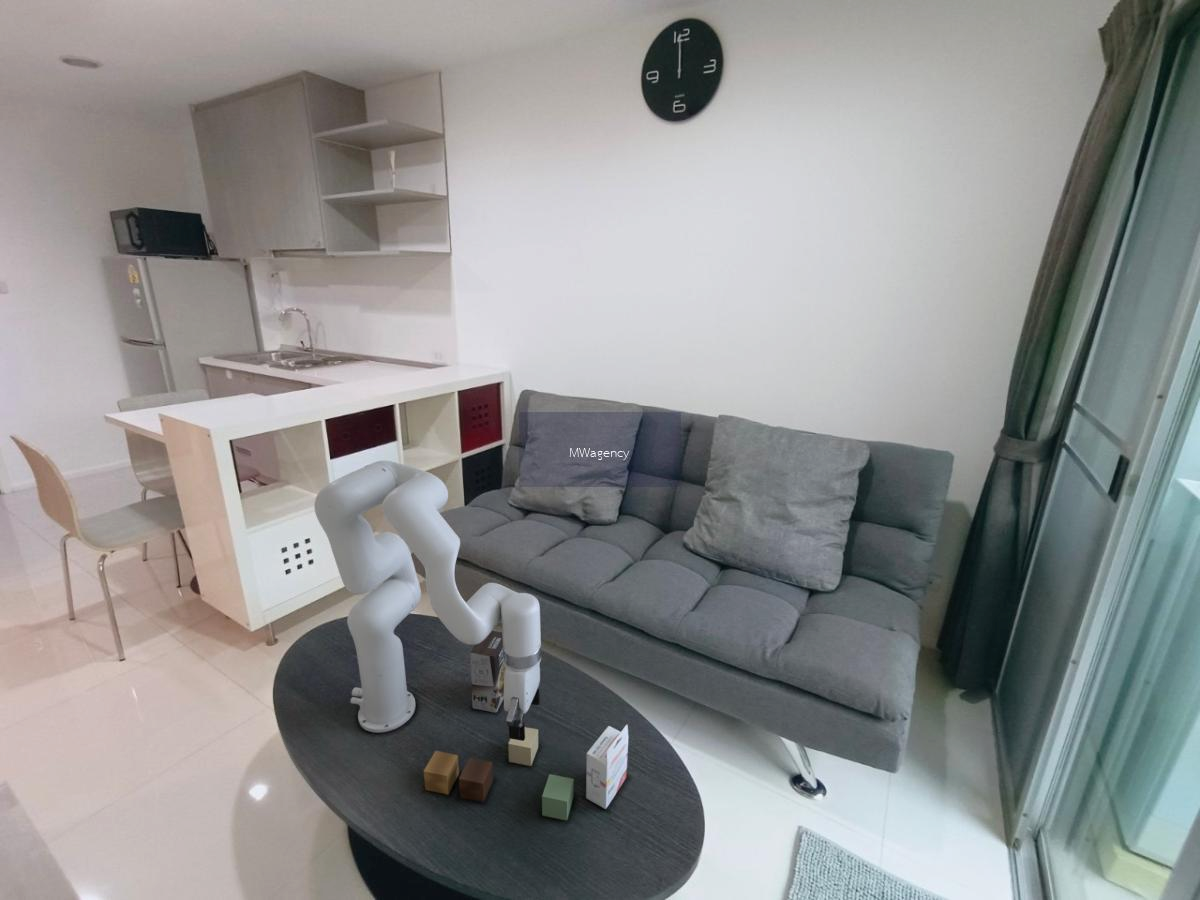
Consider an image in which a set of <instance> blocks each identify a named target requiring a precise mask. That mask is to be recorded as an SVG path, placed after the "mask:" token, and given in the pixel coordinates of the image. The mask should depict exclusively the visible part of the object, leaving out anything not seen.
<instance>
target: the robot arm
mask: <svg viewBox="0 0 1200 900" xmlns="http://www.w3.org/2000/svg"><path fill="white" fill-rule="evenodd" d="M448 499H449V489H448V488H447V486H446V484H445V483H444V482H443V481H442V479H441V478H439V477H438V476H436V475H434V474H433V473H431V472H429V471H426V470H423V469H420V468H416V467H413V466H409V465H406V464H403V463H400V462H395V461H391V460H378V461H374V462H372V463H370V464H367V465H365V466H363V467H360V468H359V469H356V470H353V471H352V472H349V473H347V474H345V475H343V476H341V477H339V478H337V479H335V480H333V481H331V482H330V483H327V484H326V485H325V486H324V487H323V488H322V489H321V490H319V491H318V493H317V494H316V497H315V499H314V512H315V517H316V519H317V521H318V523H319V525H320V527H321V528H322V530H323V532H324V533H325V535H326V537H327V539H328V542H329V545H330V550H331V552H332V556H333V559H334V561H335V564H336V567H337V570H338V573H339V576H340V579H341V581H342V584H343V586H344V588H345V589H346V590H347V591H348V592H349V593H350V594H353V595H356V596H357V595H363V597H361V598H360V599H359V600H358V601H357V602H356V603H354V605H352V607H351V609H350V610H349V612H348V615H347V618H346V623H347V627H348V630H349V633H350V635H351V637H352V640H353V643H354V647H355V652H356V659H357V664H358V670H359V671H358V672H359V679H360V686H361V687H356V686H355V687H354V688H353V689H352V691H351V696H352V697H351V698H350V704H353V705H358V706H359V710H358V712H357V719H358V723H359V725H360V727H361V728H362V729H363V730H365V731H366V732H367V731H368V732H371V733H377V734H379V733H380V734H381V733H386V732H390V731H393V730H396V729H398V728H400V727H402V726H403V725H404V724H405V723H407V722H409V720H410V719H411V718H412V716H413V715H414V713H415V711H416V699H415V697H414V695H413V693H412V692H410V691H408V687H407V676H406V668H405V657H404V648H403V643H402V640H401V639H400V637H399V636H397V635H396V634H395V629H396V627H397V626H398V625H400V623H402V621H404V619H406V617H407V616H409V615H410V614H411V613H412V612H413V611H414V610H415V609H416V608H417V607H418V605H419V604H420V602H421V599H422V590H421V589H422V588H421V585H420V581H419V578H418V575H417V571H416V567H415V563H414V560H413V557H412V554H411V552H412V553H413V554H414V555H415V557H416V558H417V559H418V560H419V562H420V563H421V564H422V566H423V568H424V571H425V572H424V573H425V585H426V590H427V594H428V598H429V602H430V605H431V608H432V610H433V612H434V614H435V615H436V617H437V618H438V619H439V620H440V622H441V623H442V624H443V626H444V627H445V628H446V629H447V630H448V632H449V633H450V634H451V635H452V636H453V637H454V638H455V639H456V640H458V641H459V642H461V643H463V644H465V645H469V646H475V644H478V643H481V642H482V641H483V640H484V639H485V638H486V637H487V636H488V635H489V634H490V633H491V632H492V631H494V629H495V628H496V627H497V626H498V625H499V624H501V632H502V636H503V654H504V664H505V666H506V669H505V677H504V699H503V709H504V712H507V715H506V720H505V722H506V724H507V727H508V736H509V740H510V739H515V740H521V741H524V740H525V727H526V725H525V724H526V723H524V718H525V714H526V713H527V712H528V711H529V709H530V707H531V705H533V706H539V705H540V702H541V699H540V697H541V696H540V695H541V694H540V684H541V683H540V681H541V666H540V663H541V662H542V639H541V638H542V637H541V636H542V635H541V634H542V633H541V608H540V607H541V606H540V601H539V600H538V598H537V597H536V596H535V595H533V594H532V593H531V594H530V593H527V592H517V591H515V590H513V589H511V588H508V587H506V586H504V585H502V584H500V583H497V582H488V583H485V584H483V585H482V586H481V587H479V588H478V589H477V591H476V592H475V593H473V595H472V596H471V597H469V599H468V600H466V601H465V599H464V598H463V596H462V595H461V594H460V592H459V590H458V587H457V583H456V579H455V578H456V577H455V568H456V562H457V558H458V554H459V551H460V547H461V539H460V537H459V536H458V535H457V533H456V532H455V531H454V530H453V528H452V527H451V526H450V525H449V523H448V522H447V521H446V519H445V518H444V517H443V516H442V514H441V513H440V512H439V510H440V509H442V508H443V507H444V506H445V505H446V504H447V502H448V501H449V500H448ZM380 505H381V510H382V511H381V512H382V513H383V516H384V518H385V519H386V521H388V523H389V524H390V525H391V527H392V528H393V529H394V530H395V531H396V533H397V534H396V533H394V532H391V531H385V532H380V533H378V534H375V535H374V532H373V531H374V530H373V528H372V526H371V525H370V523H369V521H368V520H367V519H366V518H365V517H363V516H362V515H363V514H366V513H367V512H368V511H370V510H372V509H374V508H376V507H378V506H380ZM410 550H411V551H410ZM516 714H519V718H518V719H516Z"/></svg>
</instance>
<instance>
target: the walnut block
mask: <svg viewBox="0 0 1200 900" xmlns="http://www.w3.org/2000/svg"><path fill="white" fill-rule="evenodd" d="M459 775H460V776H458V777H459V778H458V785H459V786H458V787H459V798H461V799H466V800H470V801H474V802H475V801H476V802H480V803H484V802H485V800H486V798H487V796H488V793H489V791H490V790H491V787H492V784H493V782H494V771H493V762H492V761H488V760H484V759H478V758H474V757H468V760H467V761H466V764H465V766H464V767H463V769H462V771H461V773H460V774H459Z"/></svg>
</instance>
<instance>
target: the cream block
mask: <svg viewBox="0 0 1200 900" xmlns="http://www.w3.org/2000/svg"><path fill="white" fill-rule="evenodd" d="M507 746H508V763H515V764H518V765H523V766H529V767H532V766H533V762H534V760H535V757H536V754H537V752H538V749H539V729H537V728H532V727H527V726H525V740H524V741H521V740H515V739H510V738H509V741H508V745H507Z"/></svg>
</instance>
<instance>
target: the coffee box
mask: <svg viewBox="0 0 1200 900" xmlns="http://www.w3.org/2000/svg"><path fill="white" fill-rule="evenodd" d="M469 657H470V679H471V699H472V702H471V703H472V709H475V710H480V711H486V712H489V713H495V714H496V713H497V712H498V711H499V708H500V706H501V705H502V703H503V702H504V677H505V669H506V666H505V664H504V654H503V636H502V631H495V630H492V632H491V633H490V634H489V635H488V636H487V637H486V638H485V639H484V640H483V641H482V642H481V643H478V644H475V645H473V647H472V649H471V650H470V652H469Z"/></svg>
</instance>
